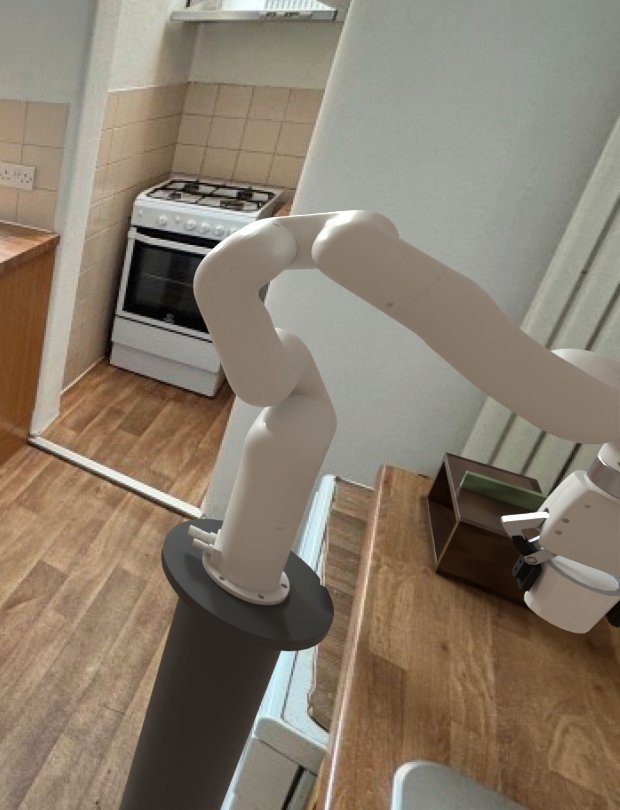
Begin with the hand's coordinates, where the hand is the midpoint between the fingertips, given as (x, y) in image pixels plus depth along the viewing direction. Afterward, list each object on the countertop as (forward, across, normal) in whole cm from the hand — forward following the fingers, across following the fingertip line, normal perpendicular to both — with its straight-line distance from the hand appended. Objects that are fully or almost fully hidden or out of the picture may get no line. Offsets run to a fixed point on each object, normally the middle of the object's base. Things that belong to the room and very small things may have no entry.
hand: (564, 599), depth 73 cm
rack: (+18, -1, -33) cm, 38 cm away
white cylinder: (+2, 0, 0) cm, 2 cm away
